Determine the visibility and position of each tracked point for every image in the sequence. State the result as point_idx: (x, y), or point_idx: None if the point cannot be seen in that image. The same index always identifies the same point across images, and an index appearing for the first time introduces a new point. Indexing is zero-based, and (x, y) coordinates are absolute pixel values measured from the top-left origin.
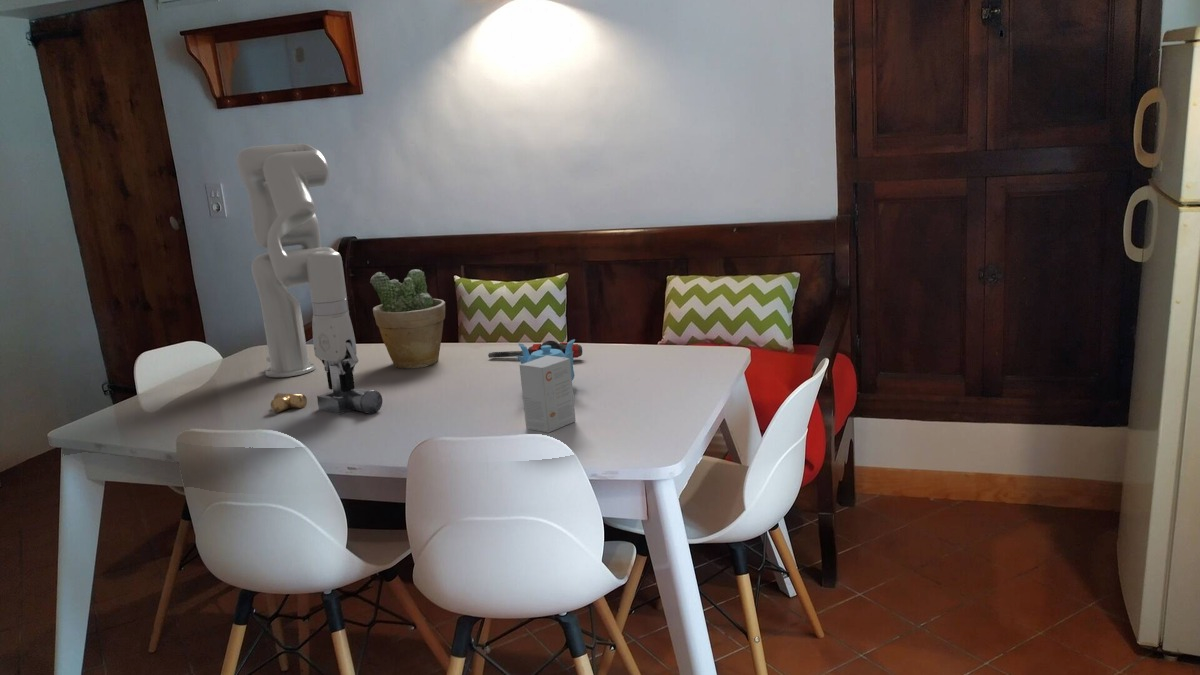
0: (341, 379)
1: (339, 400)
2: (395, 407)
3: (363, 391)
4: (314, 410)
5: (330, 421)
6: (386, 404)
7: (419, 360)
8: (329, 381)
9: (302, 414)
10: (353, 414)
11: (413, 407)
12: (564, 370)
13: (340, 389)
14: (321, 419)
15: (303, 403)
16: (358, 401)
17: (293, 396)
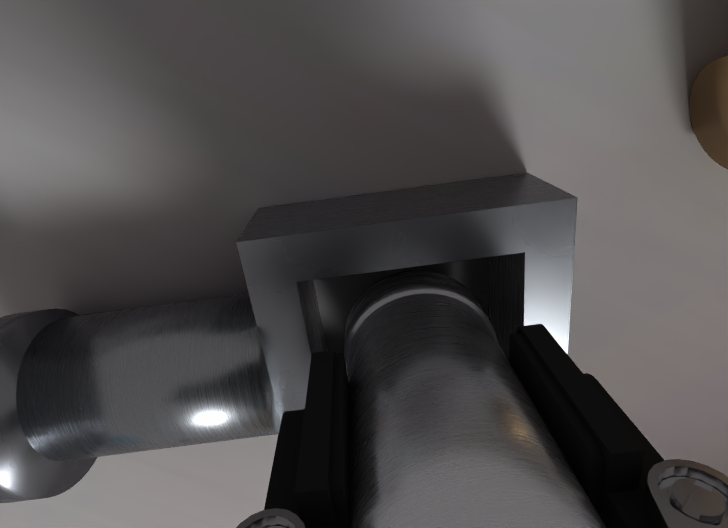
0: (300, 445)
1: (241, 257)
2: (111, 467)
3: None
4: (532, 135)
5: (117, 65)
6: (218, 465)
7: None
8: (551, 374)
9: (527, 12)
10: (167, 262)
11: (31, 515)
12: None
13: (363, 361)
14: (238, 45)
15: (716, 127)
16: (84, 341)
17: None
